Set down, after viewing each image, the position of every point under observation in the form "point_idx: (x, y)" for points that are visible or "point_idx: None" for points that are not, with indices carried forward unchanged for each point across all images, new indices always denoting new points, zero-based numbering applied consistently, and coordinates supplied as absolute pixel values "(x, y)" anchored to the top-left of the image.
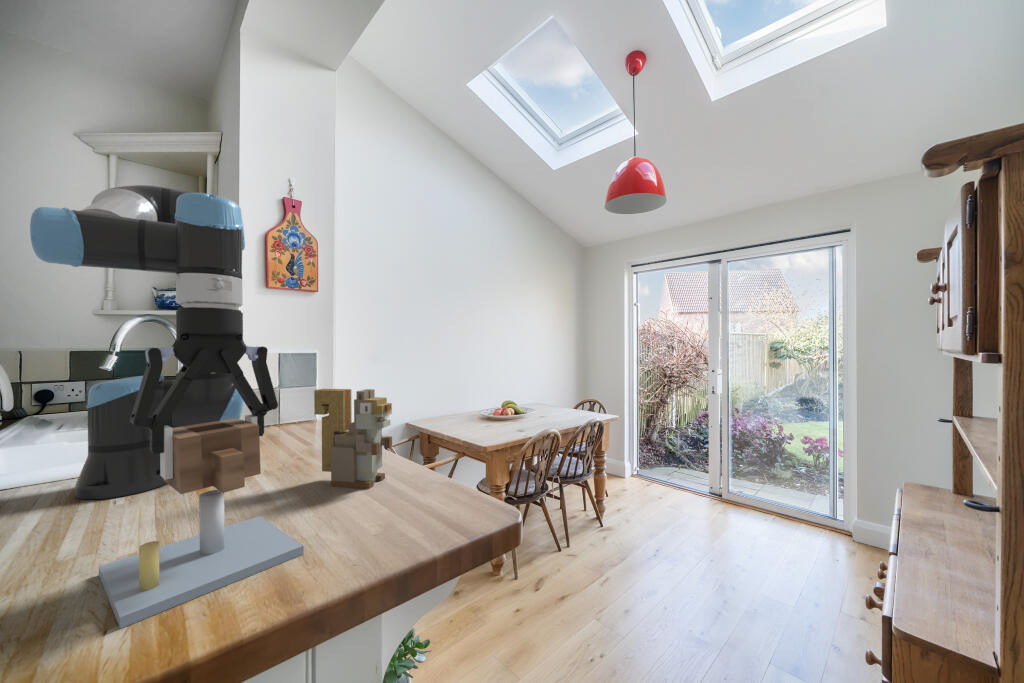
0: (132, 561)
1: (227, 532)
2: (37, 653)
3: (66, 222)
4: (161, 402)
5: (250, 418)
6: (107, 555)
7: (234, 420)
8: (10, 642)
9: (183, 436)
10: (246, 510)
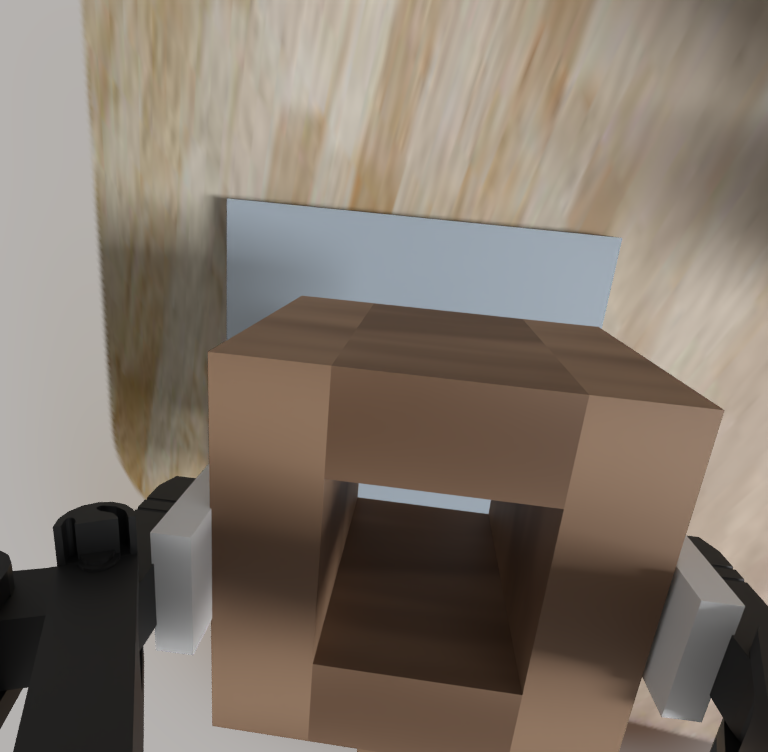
0: (285, 248)
1: (498, 281)
2: (141, 439)
3: None
4: (29, 713)
5: (663, 689)
6: (267, 65)
7: (651, 496)
8: (109, 365)
9: (242, 694)
10: (664, 59)
